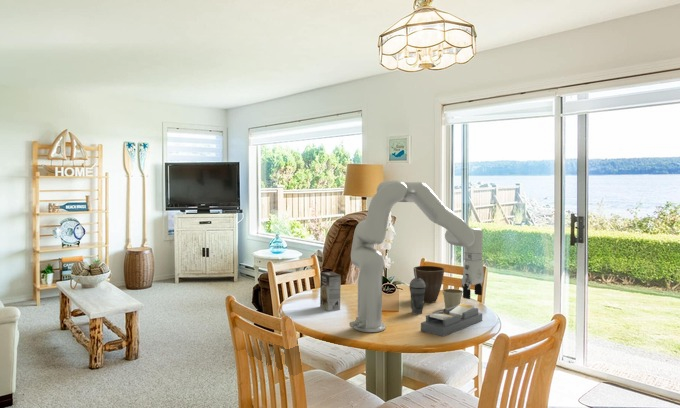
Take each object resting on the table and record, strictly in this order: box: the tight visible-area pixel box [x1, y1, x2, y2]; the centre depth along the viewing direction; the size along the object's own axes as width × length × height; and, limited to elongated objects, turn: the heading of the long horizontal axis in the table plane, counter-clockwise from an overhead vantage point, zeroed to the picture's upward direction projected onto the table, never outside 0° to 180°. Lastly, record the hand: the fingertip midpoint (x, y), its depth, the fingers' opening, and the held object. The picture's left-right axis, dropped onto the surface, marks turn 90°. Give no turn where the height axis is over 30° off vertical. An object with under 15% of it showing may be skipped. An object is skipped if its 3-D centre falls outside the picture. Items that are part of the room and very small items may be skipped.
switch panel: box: [420, 305, 483, 337], centre depth 184 cm, size 30×10×5 cm, turn 135°
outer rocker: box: [449, 302, 476, 318], centre depth 189 cm, size 10×6×1 cm, turn 135°
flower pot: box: [441, 288, 463, 309], centre depth 208 cm, size 9×9×9 cm
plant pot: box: [412, 265, 445, 303], centre depth 225 cm, size 15×15×16 cm
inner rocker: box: [429, 313, 453, 320], centre depth 179 cm, size 10×6×1 cm, turn 135°
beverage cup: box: [408, 267, 426, 315], centre depth 203 cm, size 7×7×20 cm
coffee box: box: [319, 271, 342, 312], centre depth 209 cm, size 9×6×16 cm
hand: (472, 296), depth 195 cm, fingers open, 9 cm apart
